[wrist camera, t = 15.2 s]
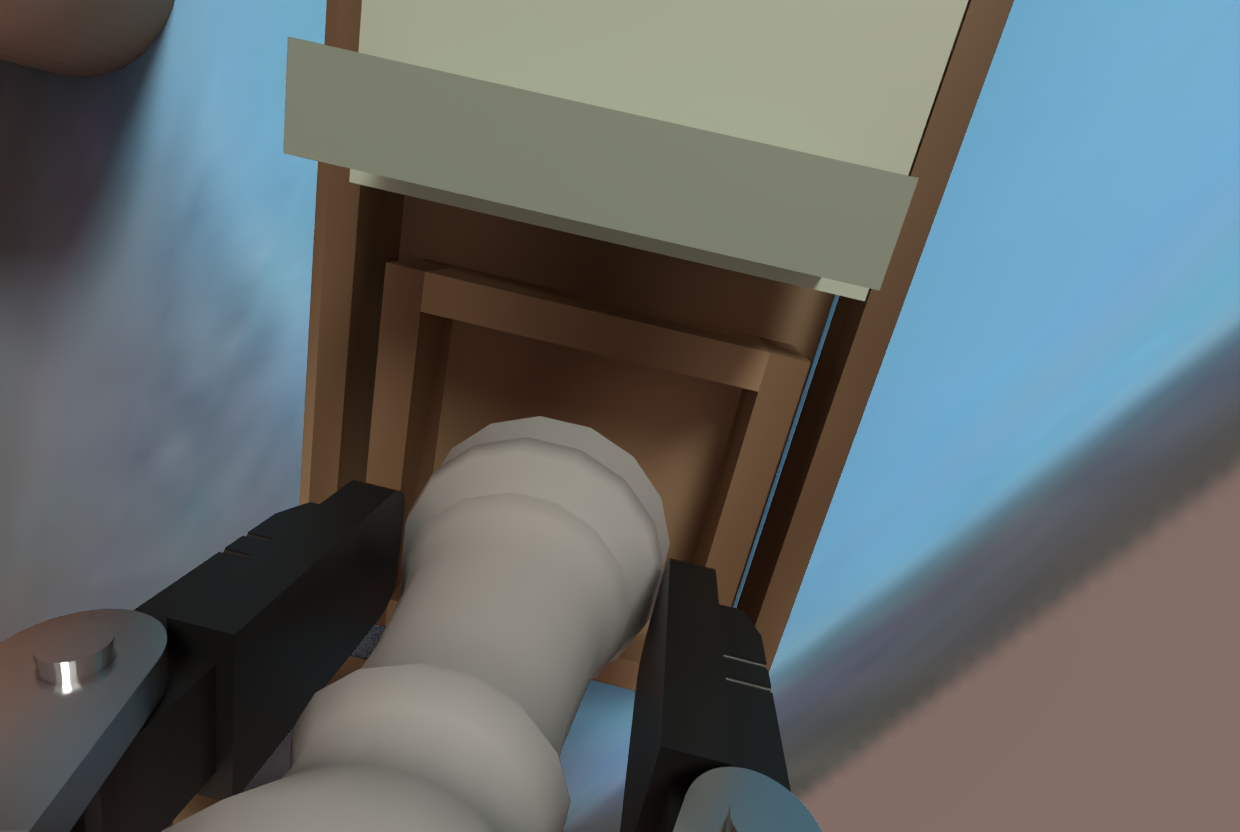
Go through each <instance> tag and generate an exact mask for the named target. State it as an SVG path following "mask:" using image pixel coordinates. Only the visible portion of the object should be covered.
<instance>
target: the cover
mask: <svg viewBox="0 0 1240 832" xmlns="http://www.w3.org/2000/svg"><path fill="white" fill-rule="evenodd" d="M967 3H968V0H362V8H361V22H360V36H359V51H358V52H354V51H350V50H345V49H341V48H336V47H332V46H327V45H323V44H318V43H314V42H309V41H305V40H301V39H296V38H292V37H288V46H287V73H286V99H285V126H284V153H285V154H289V155H294V156H298V157H302V158H307V159H311V160H315V161H320V162H324V163H328V164H333V165H337V166H341V167H346V168H350V178H349V182H352V183H356V184H360V185H365V186H369V187H373V188H378V189H382V190H386V191H390V192H395V193H399V194H403V195H408V196H412V197H416V198H421V199H425V200H429V201H434V202H438V203H442V204H447V205H451V206H455V207H460V208H464V209H468V210H473V211H477V212H481V213H486V214H490V215H494V216H498V217H503V218H507V219H511V220H516V221H520V222H524V223H529V224H533V225H537V226H542V227H546V228H550V229H555V230H559V231H563V232H568V233H572V234H576V235H581V236H585V237H589V238H594V239H598V240H602V241H607V242H611V243H615V244H619V245H624V246H628V247H632V248H637V249H641V250H645V251H650V252H654V253H658V254H663V255H667V256H671V257H676V258H680V259H684V260H689V261H693V262H697V263H702V264H706V265H710V266H715V267H719V268H723V269H727V270H732V271H736V272H740V273H745V274H749V275H753V276H758V277H762V278H766V279H771V280H775V281H779V282H784V283H788V284H792V285H797V286H801V287H805V288H810V289H814V290H818V291H823V292H827V293H831V294H836V295H840V296H844V297H848V298H853V299H857V300H861V301H865V299H866V296H867V293H868V291H869V288H870V289H875V290H879V291H880V288H881V285H882V282H883V279H884V276H885V274H886V271H887V268H888V265H889V262H890V259H891V256H892V254H893V251H894V248H895V245H896V242H897V239H898V236H899V234H900V231H901V228H902V225H903V222H904V219H905V216H906V214H907V211H908V208H909V205H910V202H911V199H912V196H913V194H914V191H915V188H916V185H917V182H918V179H919V178H916V177H912V176H908V174H909V171H910V169H911V166H912V163H913V160H914V157H915V154H916V151H917V148H918V145H919V142H920V140H921V137H922V134H923V131H924V128H925V125H926V122H927V119H928V116H929V113H930V110H931V108H932V105H933V102H934V99H935V96H936V93H937V90H938V87H939V84H940V81H941V79H942V76H943V73H944V70H945V67H946V64H947V61H948V58H949V55H950V52H951V49H952V47H953V44H954V41H955V38H956V35H957V32H958V29H959V26H960V23H961V20H962V18H963V15H964V12H965V9H966V6H967Z"/></svg>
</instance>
